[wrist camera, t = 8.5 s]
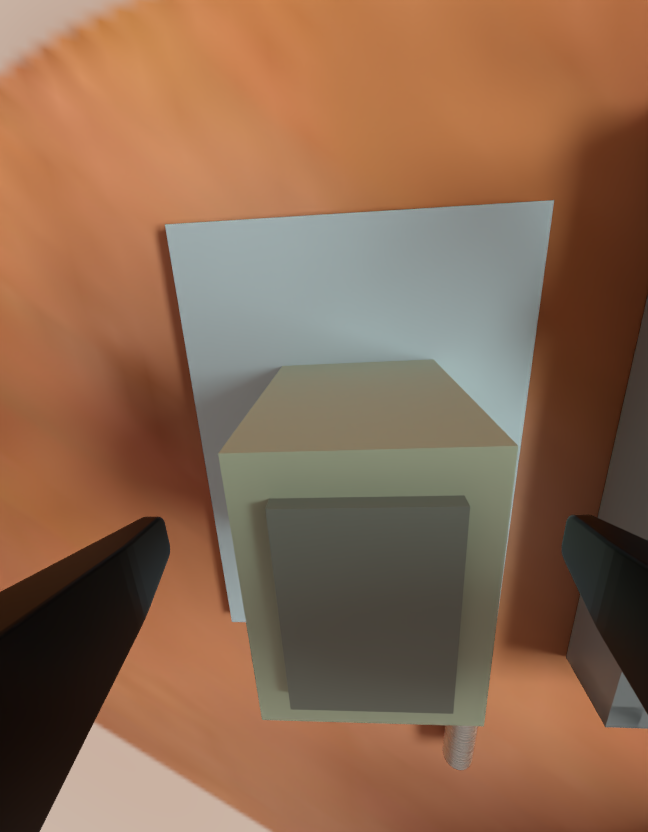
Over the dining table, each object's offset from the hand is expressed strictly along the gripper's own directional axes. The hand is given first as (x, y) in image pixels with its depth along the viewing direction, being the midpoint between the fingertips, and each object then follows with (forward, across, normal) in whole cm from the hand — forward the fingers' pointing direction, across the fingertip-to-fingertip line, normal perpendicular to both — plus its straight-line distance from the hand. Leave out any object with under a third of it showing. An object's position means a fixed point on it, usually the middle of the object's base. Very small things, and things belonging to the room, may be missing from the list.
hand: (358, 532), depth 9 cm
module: (+4, 0, 0) cm, 4 cm away
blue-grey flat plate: (+4, 0, 0) cm, 4 cm away
